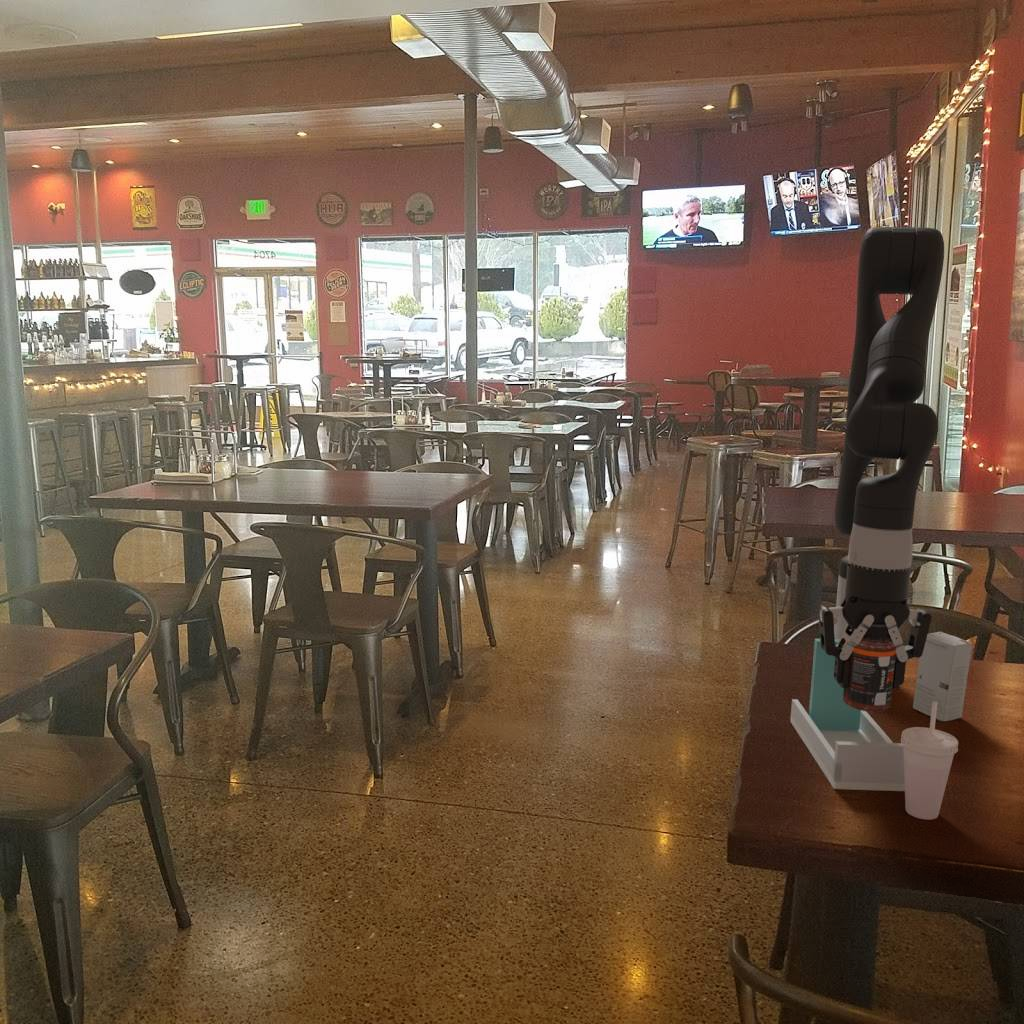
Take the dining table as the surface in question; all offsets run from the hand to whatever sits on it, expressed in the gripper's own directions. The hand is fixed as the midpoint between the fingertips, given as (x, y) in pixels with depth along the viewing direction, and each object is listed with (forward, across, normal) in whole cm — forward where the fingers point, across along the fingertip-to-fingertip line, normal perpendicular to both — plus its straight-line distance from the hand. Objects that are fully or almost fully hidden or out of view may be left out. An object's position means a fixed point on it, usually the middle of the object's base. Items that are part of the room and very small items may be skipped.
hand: (867, 685), depth 129 cm
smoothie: (+12, -4, +10) cm, 17 cm away
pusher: (+11, 0, -12) cm, 16 cm away
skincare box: (+12, -19, -22) cm, 32 cm away
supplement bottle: (+3, 0, 0) cm, 3 cm away
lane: (+12, 0, -6) cm, 13 cm away
